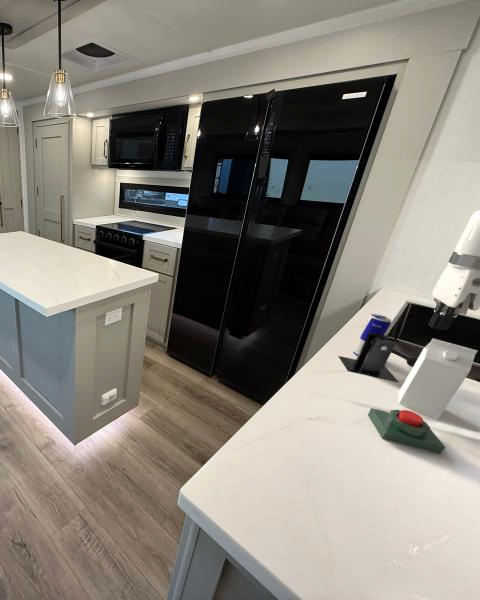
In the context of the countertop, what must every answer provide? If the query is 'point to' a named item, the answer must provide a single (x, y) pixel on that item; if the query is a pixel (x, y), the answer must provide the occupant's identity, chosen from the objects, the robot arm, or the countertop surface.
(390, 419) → the button box
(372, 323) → the beverage can
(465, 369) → the milk carton
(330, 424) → the countertop surface
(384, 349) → the bracket
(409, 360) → the lever
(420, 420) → the button
